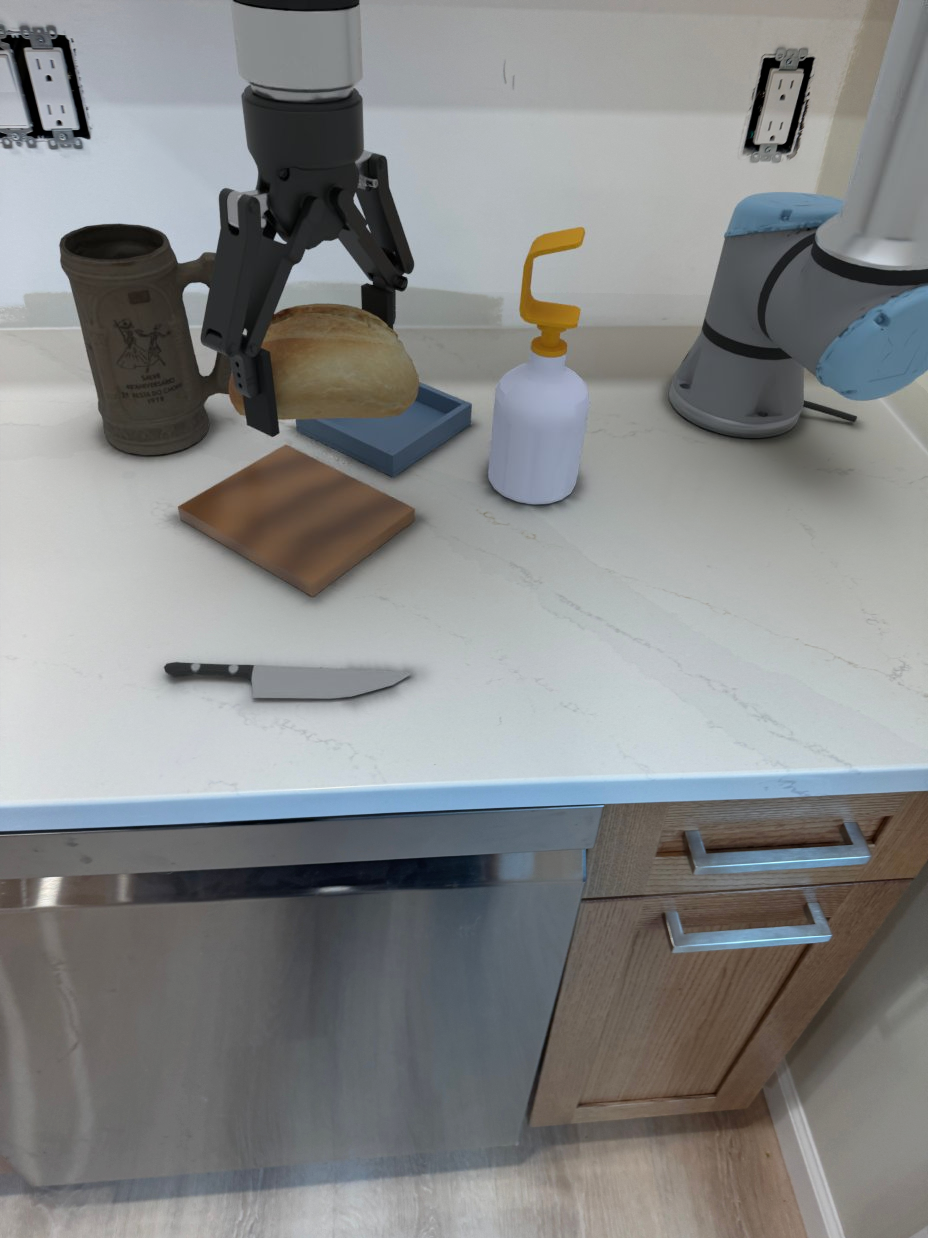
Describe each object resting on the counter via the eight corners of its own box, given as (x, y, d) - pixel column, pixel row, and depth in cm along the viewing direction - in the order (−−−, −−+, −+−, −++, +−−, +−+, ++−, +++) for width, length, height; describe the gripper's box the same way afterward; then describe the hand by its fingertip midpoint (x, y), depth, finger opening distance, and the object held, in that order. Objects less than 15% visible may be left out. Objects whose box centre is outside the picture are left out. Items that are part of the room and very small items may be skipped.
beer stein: (108, 467, 82) (65, 263, 69) (89, 415, 89) (47, 220, 76) (258, 444, 89) (246, 253, 75) (230, 397, 95) (214, 214, 82)
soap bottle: (570, 513, 81) (615, 258, 64) (480, 498, 82) (500, 243, 65) (579, 463, 87) (622, 220, 70) (495, 450, 88) (517, 207, 71)
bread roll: (230, 388, 69) (214, 293, 63) (405, 374, 72) (404, 283, 66) (236, 451, 62) (219, 351, 57) (429, 432, 65) (431, 336, 60)
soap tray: (470, 424, 92) (472, 403, 90) (393, 477, 84) (392, 455, 82) (378, 384, 97) (377, 363, 95) (296, 430, 89) (294, 409, 87)
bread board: (414, 520, 79) (414, 508, 78) (312, 597, 70) (311, 584, 69) (287, 456, 85) (285, 443, 84) (180, 519, 77) (177, 506, 76)
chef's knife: (411, 705, 62) (413, 674, 64) (412, 696, 62) (413, 665, 64) (157, 698, 62) (166, 667, 64) (153, 689, 61) (163, 658, 63)
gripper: (383, 49, 60) (387, 329, 75) (92, 107, 45) (169, 442, 60) (466, 68, 57) (453, 355, 72) (185, 135, 42) (242, 480, 57)
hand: (324, 395), depth 66 cm, fingers closed on bread roll, 13 cm apart
